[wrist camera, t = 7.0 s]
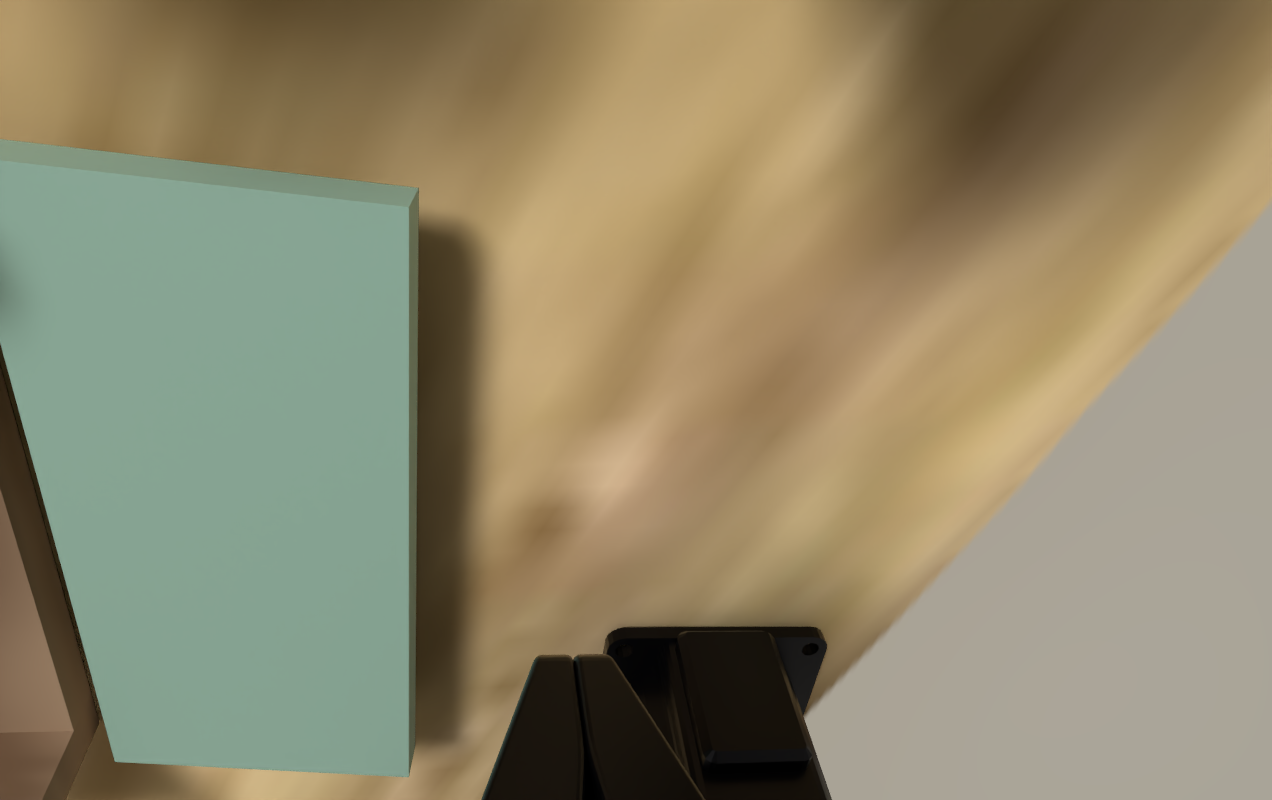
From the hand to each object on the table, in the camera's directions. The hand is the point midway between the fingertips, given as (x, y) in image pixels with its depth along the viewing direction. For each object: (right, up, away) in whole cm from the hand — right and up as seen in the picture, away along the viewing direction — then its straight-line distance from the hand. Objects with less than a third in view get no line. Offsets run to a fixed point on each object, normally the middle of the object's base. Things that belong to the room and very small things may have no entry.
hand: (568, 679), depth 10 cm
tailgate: (-12, +1, +9) cm, 15 cm away
